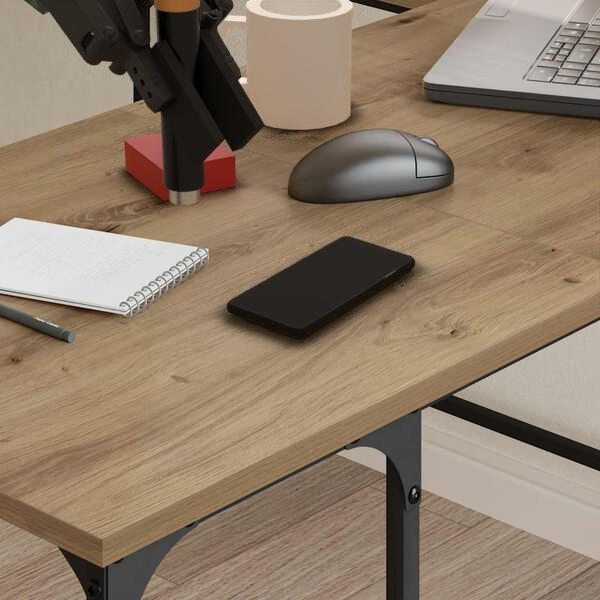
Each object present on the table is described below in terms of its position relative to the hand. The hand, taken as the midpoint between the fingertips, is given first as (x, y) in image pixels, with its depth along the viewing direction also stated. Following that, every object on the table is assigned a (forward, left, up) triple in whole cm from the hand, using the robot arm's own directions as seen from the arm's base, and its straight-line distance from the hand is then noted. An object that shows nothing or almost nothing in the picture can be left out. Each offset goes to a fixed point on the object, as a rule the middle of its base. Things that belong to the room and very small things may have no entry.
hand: (228, 145), depth 79 cm
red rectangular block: (+19, +37, -19) cm, 45 cm away
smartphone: (+16, +12, -18) cm, 27 cm away
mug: (+37, +46, -19) cm, 61 cm away
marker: (-1, +4, -5) cm, 6 cm away
